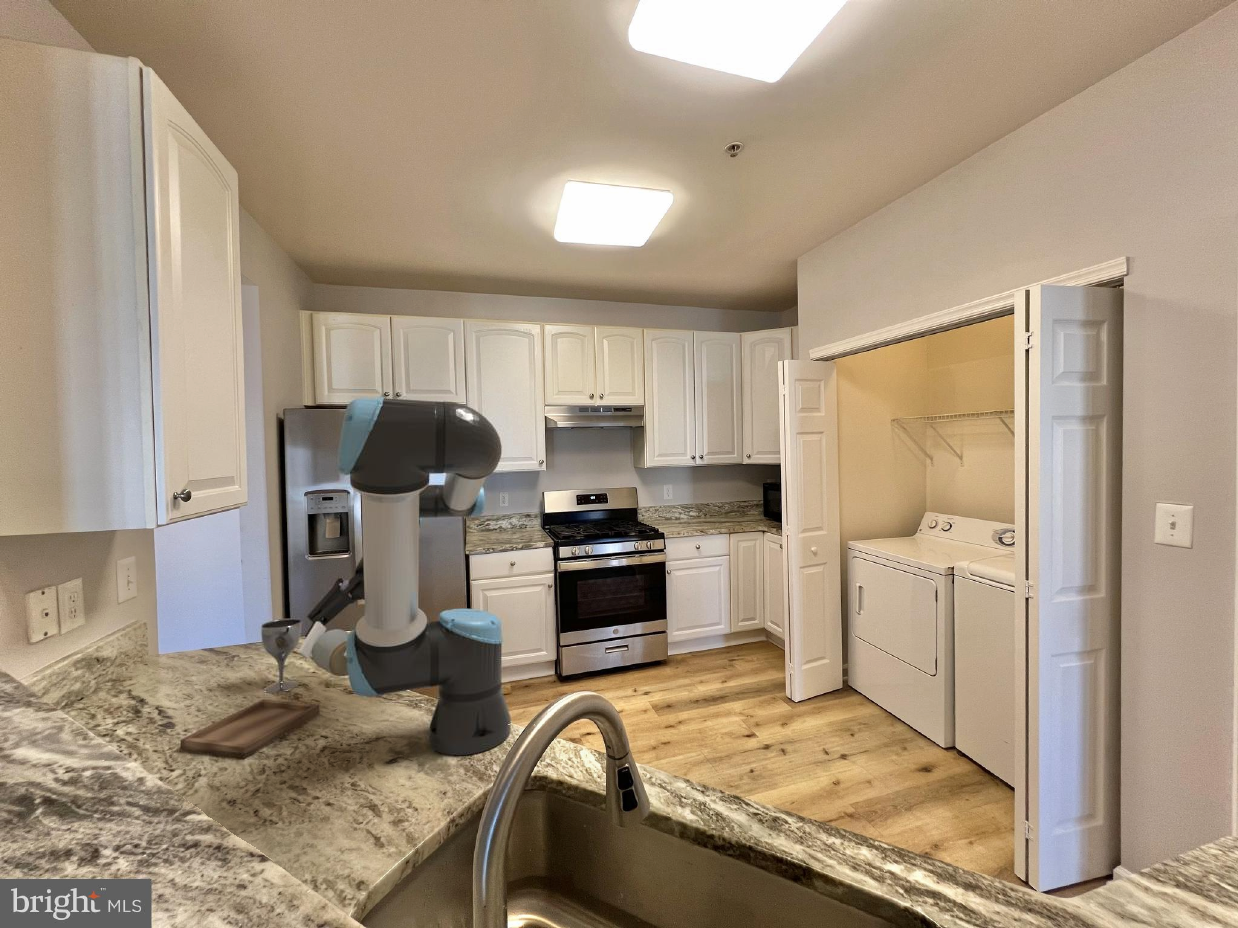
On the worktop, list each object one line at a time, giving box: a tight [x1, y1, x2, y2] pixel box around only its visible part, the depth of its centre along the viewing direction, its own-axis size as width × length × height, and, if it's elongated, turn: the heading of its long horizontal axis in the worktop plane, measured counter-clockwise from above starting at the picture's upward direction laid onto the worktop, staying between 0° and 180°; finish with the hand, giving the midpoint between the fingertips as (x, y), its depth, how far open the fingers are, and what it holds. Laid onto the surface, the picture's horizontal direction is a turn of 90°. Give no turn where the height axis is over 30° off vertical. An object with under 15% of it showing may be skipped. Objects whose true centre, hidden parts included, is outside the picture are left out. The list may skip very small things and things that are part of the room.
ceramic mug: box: [311, 628, 350, 677], centre depth 102 cm, size 11×8×8 cm
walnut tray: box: [180, 699, 321, 760], centre depth 99 cm, size 14×17×2 cm
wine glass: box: [260, 617, 302, 694], centre depth 121 cm, size 8×8×15 cm
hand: (325, 657), depth 98 cm, fingers closed on ceramic mug, 9 cm apart
